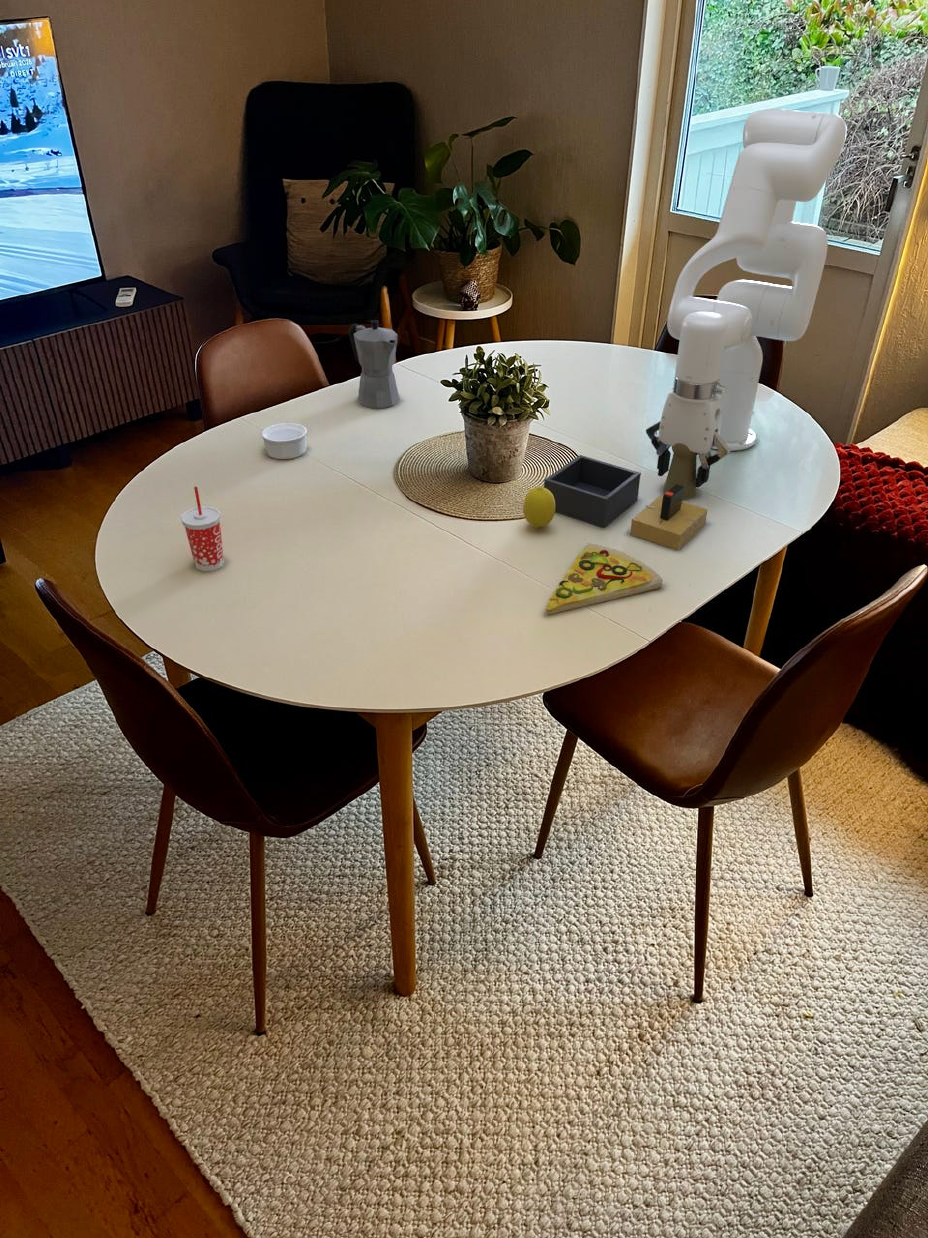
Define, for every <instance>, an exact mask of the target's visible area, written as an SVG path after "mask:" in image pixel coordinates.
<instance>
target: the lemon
mask: <svg viewBox="0 0 928 1238" xmlns="http://www.w3.org/2000/svg"><path fill="white" fill-rule="evenodd" d="M522 504H523V506H522V511H523V516H524V519H525V521H526V522H527V523H528V524H529V525H531V526H533V527H535V528H536V529H540V528H542V527H545V526H547V525H549V524H550V523H551V522H552V521H553V519H554V517H555V514H556V512H555V499H554V496H553V494H552V493H551V492H550V491H549V490H548V489H546V488H544V486H541V485H540V486H539V485H538V486H536V487H533V488H532V489H530V490H529V491H528V492H527V493H526V494H525V497H524V501H523V503H522Z"/></svg>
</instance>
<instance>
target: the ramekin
mask: <svg viewBox="0 0 928 1238" xmlns="http://www.w3.org/2000/svg"><path fill="white" fill-rule="evenodd" d="M307 434H308V429H307V427H305V425H302V424H300V423H295V422H281V423H275V424H272V425H269V426H267V427H265V428H264V429H263V430H262V431H261V436H262V440H263V443H264V448H265V452H266V454H267V455H268V456H269V457H271V458H273V459H277V460H290V459H295V458H298V457H300V456H302V455H303V454H305V452H306V451H307V447H308V446H307V445H308V444H307Z"/></svg>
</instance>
